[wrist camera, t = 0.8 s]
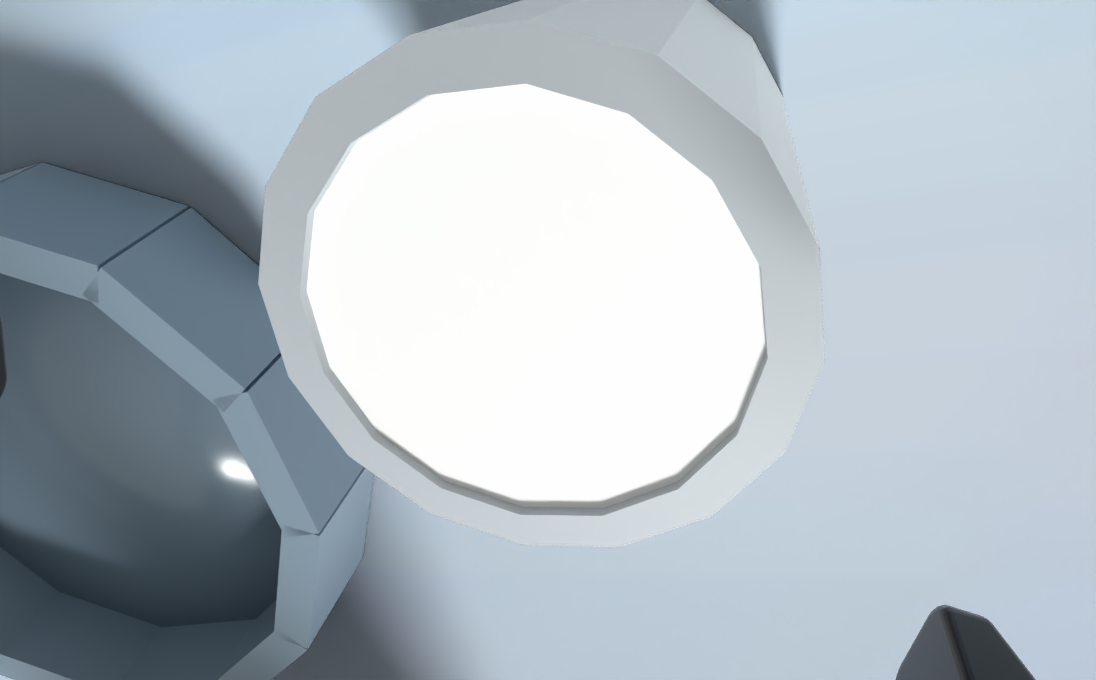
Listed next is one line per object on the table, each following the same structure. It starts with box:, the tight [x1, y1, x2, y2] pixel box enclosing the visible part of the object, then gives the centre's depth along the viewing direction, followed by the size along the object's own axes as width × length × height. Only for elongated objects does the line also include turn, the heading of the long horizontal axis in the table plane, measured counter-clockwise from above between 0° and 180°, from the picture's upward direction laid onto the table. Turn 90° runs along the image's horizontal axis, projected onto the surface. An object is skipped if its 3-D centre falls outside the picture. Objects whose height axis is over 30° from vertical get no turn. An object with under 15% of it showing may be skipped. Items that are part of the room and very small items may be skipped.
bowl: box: [0, 163, 374, 680], centre depth 22 cm, size 13×13×3 cm
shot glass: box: [258, 0, 825, 547], centre depth 15 cm, size 7×7×7 cm
